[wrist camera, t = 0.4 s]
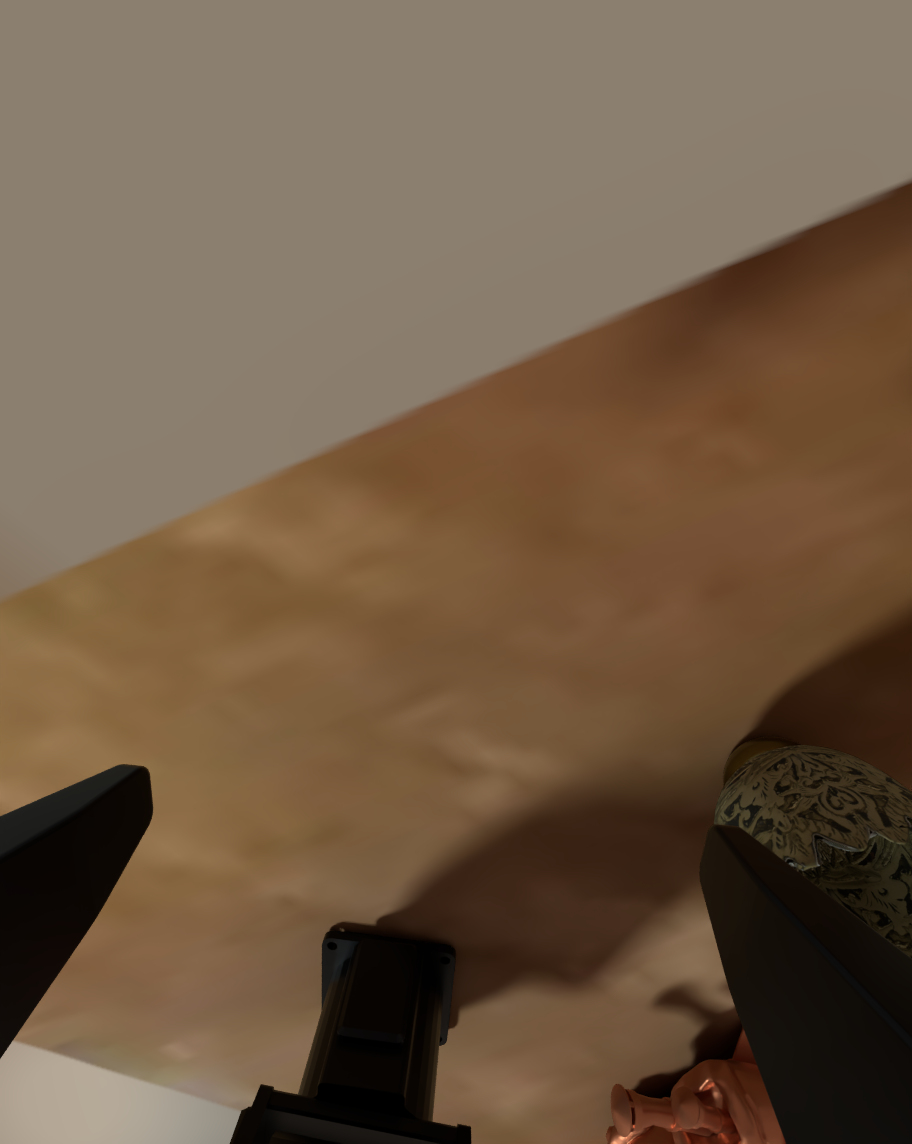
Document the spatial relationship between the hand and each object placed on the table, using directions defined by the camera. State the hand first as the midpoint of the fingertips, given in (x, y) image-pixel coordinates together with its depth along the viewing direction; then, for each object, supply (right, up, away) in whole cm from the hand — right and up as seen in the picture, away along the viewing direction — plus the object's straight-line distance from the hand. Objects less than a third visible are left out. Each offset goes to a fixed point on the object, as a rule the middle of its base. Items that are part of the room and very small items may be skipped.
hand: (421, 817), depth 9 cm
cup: (+13, -4, +14) cm, 20 cm away
